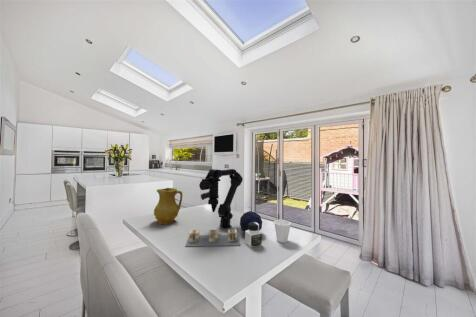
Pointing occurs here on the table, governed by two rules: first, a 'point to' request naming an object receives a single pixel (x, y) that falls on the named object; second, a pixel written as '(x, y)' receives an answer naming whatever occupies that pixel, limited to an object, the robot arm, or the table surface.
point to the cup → (282, 230)
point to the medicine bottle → (253, 235)
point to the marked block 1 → (194, 236)
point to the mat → (205, 242)
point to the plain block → (213, 236)
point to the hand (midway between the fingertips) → (213, 211)
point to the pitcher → (167, 206)
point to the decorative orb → (250, 220)
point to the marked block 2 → (232, 235)
